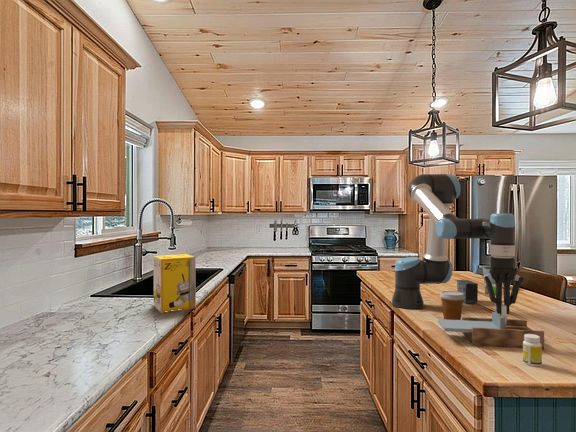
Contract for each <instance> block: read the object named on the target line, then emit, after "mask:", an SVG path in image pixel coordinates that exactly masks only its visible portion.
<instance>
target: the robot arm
mask: <svg viewBox="0 0 576 432" xmlns="http://www.w3.org/2000/svg"><path fill="white" fill-rule="evenodd" d="M407 187H408V189H407V192H408V195H409V198H410V199H411V200H412V201H413V203H417V204H418V205H420V207H421V208H422V210H424V212H425V213H426V214H427V215H428V216H429V219H428V220H429V221H428V233H427V244H426V245H427V246H426V253H424V254H423V255H422V260H421V259H420V257H415V256H413V257H411V256H409V257H402V258H398V259H397V260H396V261H395V262H394V263H395V265H394V280H395V281H394V291H393V292H394V293H393V295H392V297H391V306H393V307H396V308H399V309H408V310H417V309H422V308H424V306H425V302H424V298H423V296H422V293H421V285H432V284H435V285H441V284H446V283H447V282H449V281H450V280H451V278H452V276H453V265H452V262H451V261H450V260H449V257H448V256H447V255H446V251H447V242H448V240H451V239H457V240H459V239H487V240H488V239H489V240H490V252H489V253H490V256H491V257H490V267H491V269H490V271H489V274H487V275H486V276H485V275H484V274H483V275H482V279H483V281H484V280H485V282H486V285H487V289H488V293H487V294H488V296H489V300H490V302H492V303H493V304H495V305H496V308H495V309H496V310H495V312H497V313H498V314H500V315H502V316H503V317H504V318H505V324H507V319H508V318H507V317H508V315H509V314H510V306H511V305H514V304H516V302H517V298H518V295H519V290H520V286H521V284H522V282H523V281H524V280H525V279H524V277H523V276H520V275H519V274H517V272H516V258H515V256H516V244H515V243H516V240H515V238H516V223H515V215H514V214H513V213H491V215H490V218H485V217H484V218H483V217H482V218H458V217H457V215H455V214H454V213H453V212H452V211H451V210H450V207H451V206H452V205H454V202H455V200H456V199H458V198H459V196H460V195H461V184H460V180H459V179H458V177H457V176H456V175H454V174H448V173H447V174H446V173H440V174H439V173H433V174H432V173H430V174H427V173H426V174H425V173H423V174H419V175H417V176H415V177H413V178H412V180H411V181H410V183H409V185H408V186H407ZM491 277H492V278H493V279H494V280H495V284H496V294H494V290H493V286H492V283H491V281H490V280H491ZM513 280H514V281H513ZM512 281H513V283H512V287H511V282H512Z"/></svg>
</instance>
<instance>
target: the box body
mask: <svg viewBox="0 0 576 432" xmlns="http://www.w3.org/2000/svg"><path fill="white" fill-rule="evenodd" d="M461 320H468V321H491V322H492V317H491V318H489V317H488V318H487V317H469V316H468V317H467V316H461ZM461 333H462V335H463V337H465V338H466V339H467V341H469V343H470V344H471V345H472V346H474V347H489V348H490V347H491V348H506V349H520V350H521V349H522V350H523V341H524V335H525V334H534V335H538V336H539V337H540V343H541V345H542V351H543V350H544V351H545V331H544V330H533V329H531V328H530V327H529V326H528V320H527V319H512V318H511V319H510V318H507V324H505V329H495V328H475V327H472V333H468V332H461Z"/></svg>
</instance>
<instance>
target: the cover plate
mask: <svg viewBox="0 0 576 432" xmlns="http://www.w3.org/2000/svg"><path fill="white" fill-rule="evenodd" d="M491 318H492V322H491V321H468V320H462V319H461V320H445V319H444V318H442V319H441V318H440V319H439V318H438V319H437V323H438V325H439V326H440V327H441V329H442V330H443V331H444V332H449V333H450V332H451V333H453V332H454V333H462V332H468V333H472V327H475V328H495V329H505V318H504V317H503V316H502V315H500V314H498V313H497V312H496V311H491Z"/></svg>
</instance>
